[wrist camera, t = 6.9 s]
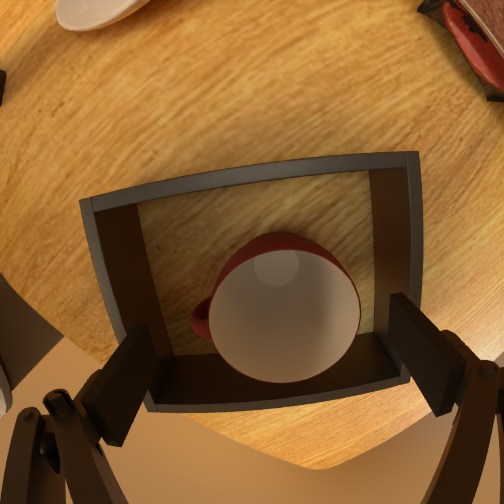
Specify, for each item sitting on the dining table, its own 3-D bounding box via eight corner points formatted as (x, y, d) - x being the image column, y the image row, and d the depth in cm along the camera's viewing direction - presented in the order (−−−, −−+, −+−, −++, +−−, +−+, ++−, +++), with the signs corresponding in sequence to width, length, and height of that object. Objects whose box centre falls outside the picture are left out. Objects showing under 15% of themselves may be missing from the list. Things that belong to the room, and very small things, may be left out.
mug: (236, 336, 27) (226, 416, 17) (183, 264, 25) (140, 321, 15) (341, 277, 25) (383, 339, 15) (293, 195, 23) (316, 214, 14)
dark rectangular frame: (167, 364, 28) (147, 412, 21) (122, 190, 23) (78, 200, 17) (382, 338, 27) (409, 382, 20) (377, 153, 22) (419, 150, 15)
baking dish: (476, 133, 23) (552, 143, 13) (379, -20, 17) (443, -63, 7) (521, 81, 21) (580, 83, 12) (446, -42, 15) (500, -66, 6)
